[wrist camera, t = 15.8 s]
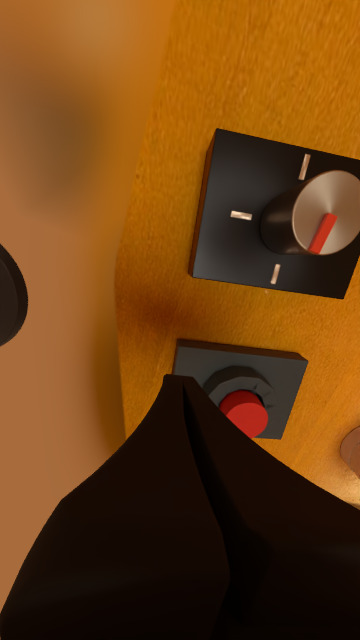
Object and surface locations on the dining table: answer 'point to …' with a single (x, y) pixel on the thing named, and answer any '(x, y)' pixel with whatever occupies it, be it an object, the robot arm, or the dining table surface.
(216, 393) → the switch block
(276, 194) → the dimmer panel
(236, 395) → the switch button
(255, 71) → the dining table surface
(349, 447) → the cup
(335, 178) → the dimmer knob
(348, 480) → the dining table surface
